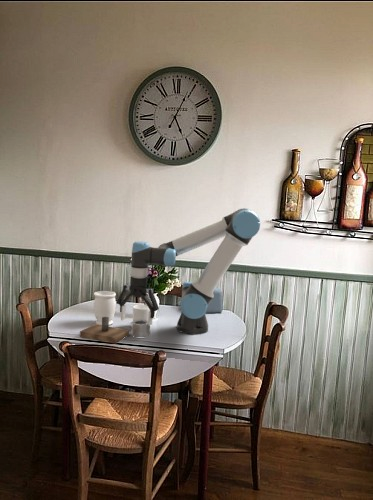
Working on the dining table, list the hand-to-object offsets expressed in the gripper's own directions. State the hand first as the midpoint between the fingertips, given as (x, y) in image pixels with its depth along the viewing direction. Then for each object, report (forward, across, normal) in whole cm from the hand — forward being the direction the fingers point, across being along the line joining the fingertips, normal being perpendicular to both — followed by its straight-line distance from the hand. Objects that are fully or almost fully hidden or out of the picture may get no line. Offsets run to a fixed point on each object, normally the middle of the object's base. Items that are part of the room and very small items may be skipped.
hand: (136, 322), depth 209 cm
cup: (+6, +3, -13) cm, 15 cm away
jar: (+7, +21, -8) cm, 24 cm away
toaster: (+6, -14, -57) cm, 59 cm away
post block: (+6, +11, +8) cm, 15 cm away
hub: (+6, -2, -1) cm, 6 cm away
